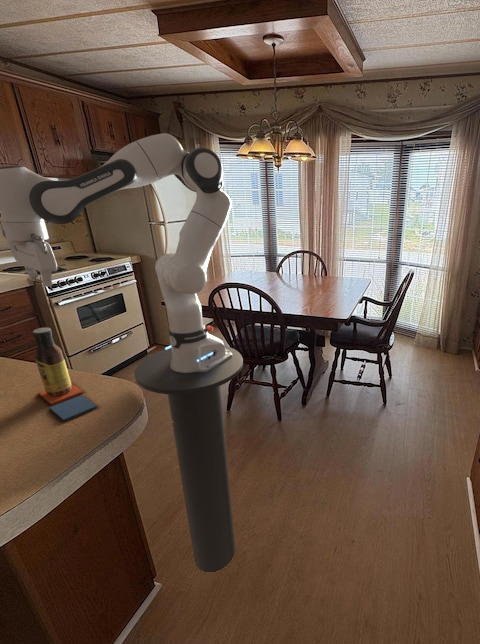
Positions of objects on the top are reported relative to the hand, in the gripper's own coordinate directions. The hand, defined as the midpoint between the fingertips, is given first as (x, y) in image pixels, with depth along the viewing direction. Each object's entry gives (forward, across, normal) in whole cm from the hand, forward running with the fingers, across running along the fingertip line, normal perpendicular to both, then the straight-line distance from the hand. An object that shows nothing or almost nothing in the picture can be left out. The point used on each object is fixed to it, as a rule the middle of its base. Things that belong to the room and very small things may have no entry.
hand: (41, 283), depth 97 cm
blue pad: (+31, -19, +6) cm, 37 cm away
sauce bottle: (+31, -8, +5) cm, 32 cm away
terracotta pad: (+31, -8, +5) cm, 32 cm away
